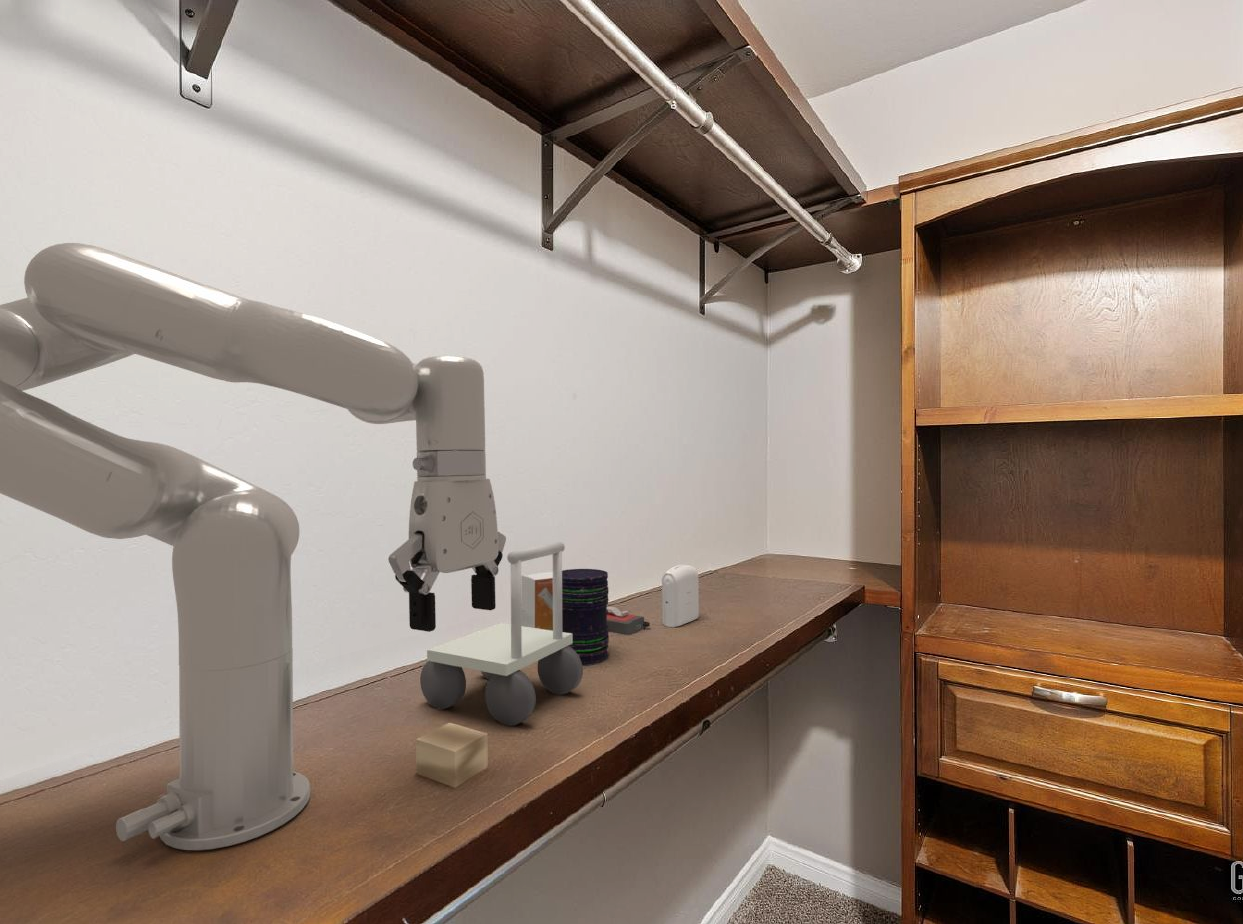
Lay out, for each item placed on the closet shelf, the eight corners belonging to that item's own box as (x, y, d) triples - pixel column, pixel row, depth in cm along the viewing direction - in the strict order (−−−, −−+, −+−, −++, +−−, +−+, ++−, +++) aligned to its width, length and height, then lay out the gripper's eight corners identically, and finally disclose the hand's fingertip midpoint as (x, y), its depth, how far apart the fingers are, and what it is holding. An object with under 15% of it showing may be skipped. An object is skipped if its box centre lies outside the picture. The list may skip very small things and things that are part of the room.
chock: (455, 789, 65) (455, 751, 65) (416, 775, 68) (416, 739, 68) (487, 768, 69) (487, 733, 69) (449, 756, 72) (449, 722, 72)
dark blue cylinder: (600, 646, 114) (600, 567, 115) (616, 662, 105) (615, 576, 105) (548, 651, 111) (548, 570, 111) (560, 668, 102) (559, 580, 102)
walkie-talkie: (655, 628, 128) (580, 616, 139) (655, 607, 128) (580, 596, 139) (633, 638, 121) (556, 624, 132) (633, 616, 121) (556, 604, 132)
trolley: (522, 733, 77) (521, 555, 77) (414, 707, 86) (413, 547, 86) (586, 691, 91) (585, 541, 92) (488, 672, 100) (487, 535, 100)
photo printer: (676, 629, 126) (675, 569, 126) (659, 625, 129) (658, 567, 129) (701, 619, 134) (701, 563, 134) (685, 616, 137) (685, 561, 137)
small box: (534, 649, 113) (534, 579, 113) (520, 641, 118) (520, 574, 118) (572, 642, 117) (572, 574, 117) (557, 634, 123) (557, 570, 123)
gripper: (417, 468, 59) (421, 644, 59) (524, 465, 74) (527, 605, 74) (364, 469, 62) (368, 635, 63) (477, 466, 78) (480, 599, 78)
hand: (455, 618), depth 68 cm, fingers open, 9 cm apart
